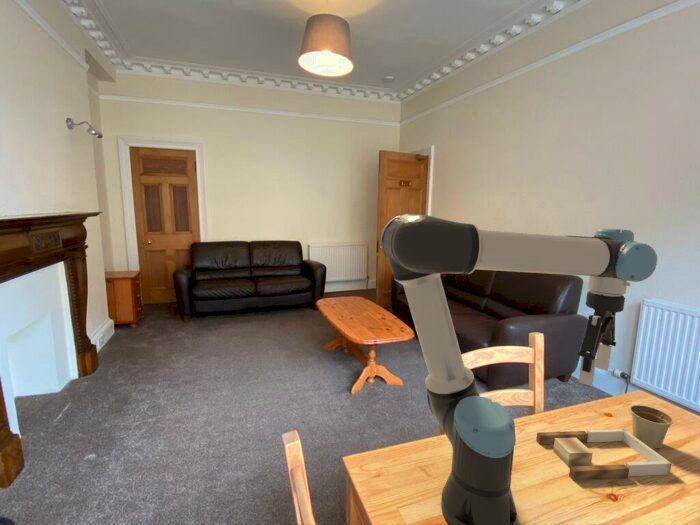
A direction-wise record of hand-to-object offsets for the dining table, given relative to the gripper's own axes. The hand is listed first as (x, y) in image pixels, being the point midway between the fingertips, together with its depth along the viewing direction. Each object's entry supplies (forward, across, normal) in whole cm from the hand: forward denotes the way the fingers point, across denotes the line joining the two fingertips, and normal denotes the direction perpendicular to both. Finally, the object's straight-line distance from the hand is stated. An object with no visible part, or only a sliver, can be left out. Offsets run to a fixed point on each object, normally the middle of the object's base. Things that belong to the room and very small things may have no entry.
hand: (593, 375), depth 90 cm
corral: (+23, +11, -7) cm, 26 cm away
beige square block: (+24, -1, +2) cm, 24 cm away
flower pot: (+23, +23, -10) cm, 34 cm away
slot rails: (+23, 0, +1) cm, 23 cm away
